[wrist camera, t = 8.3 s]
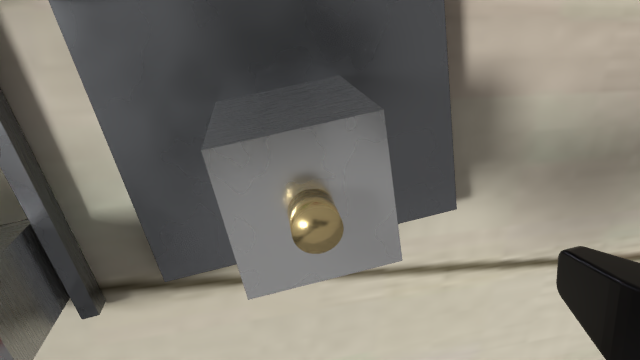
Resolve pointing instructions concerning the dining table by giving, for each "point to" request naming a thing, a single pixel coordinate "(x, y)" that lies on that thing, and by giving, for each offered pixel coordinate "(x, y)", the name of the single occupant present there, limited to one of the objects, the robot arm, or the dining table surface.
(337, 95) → the block
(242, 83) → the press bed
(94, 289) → the ram track
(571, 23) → the dining table surface
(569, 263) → the robot arm
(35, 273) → the handle
